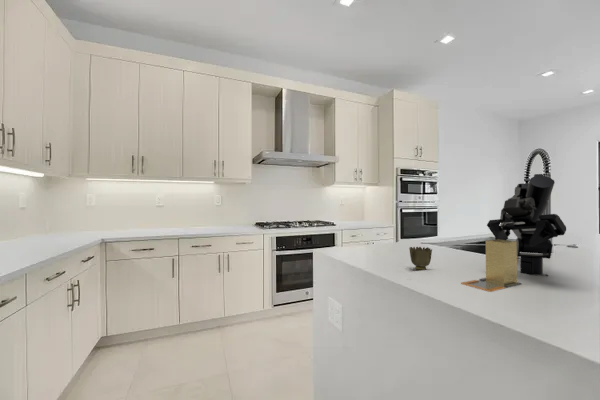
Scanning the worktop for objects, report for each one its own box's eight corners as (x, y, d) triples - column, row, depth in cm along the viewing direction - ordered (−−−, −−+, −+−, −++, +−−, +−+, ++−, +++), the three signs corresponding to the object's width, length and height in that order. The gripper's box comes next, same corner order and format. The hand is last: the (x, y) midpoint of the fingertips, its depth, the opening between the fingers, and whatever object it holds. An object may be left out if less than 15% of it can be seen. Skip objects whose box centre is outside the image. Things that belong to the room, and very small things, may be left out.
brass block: (498, 278, 85) (498, 239, 85) (516, 283, 80) (516, 241, 80) (485, 281, 82) (485, 240, 82) (504, 285, 78) (503, 242, 78)
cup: (434, 273, 95) (434, 250, 95) (411, 272, 97) (411, 249, 97) (429, 268, 103) (428, 246, 103) (407, 267, 104) (407, 246, 104)
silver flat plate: (492, 280, 87) (492, 276, 87) (522, 287, 79) (522, 283, 79) (460, 287, 80) (460, 282, 80) (489, 295, 73) (489, 290, 73)
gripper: (487, 197, 95) (467, 227, 89) (554, 185, 78) (535, 221, 72) (505, 221, 96) (486, 253, 90) (574, 215, 79) (557, 253, 73)
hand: (512, 245), depth 81 cm, fingers open, 9 cm apart
